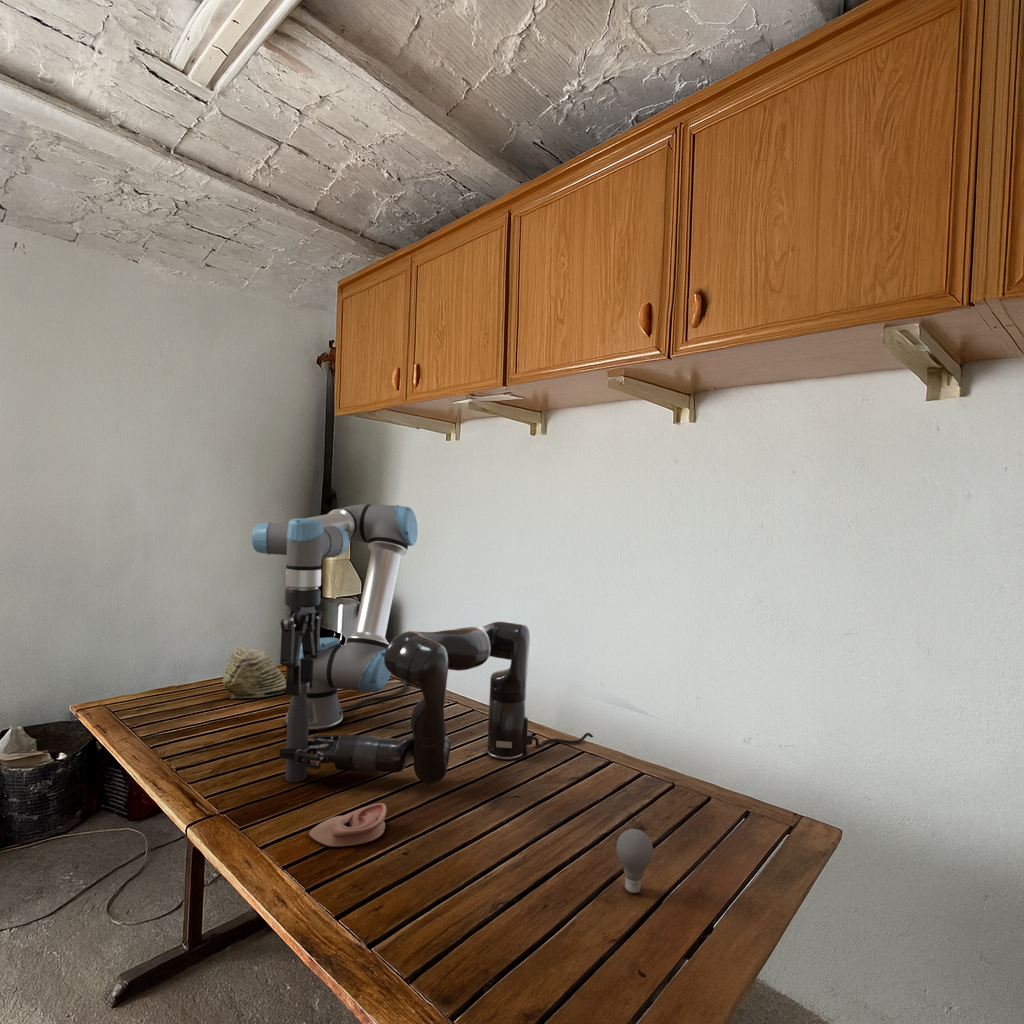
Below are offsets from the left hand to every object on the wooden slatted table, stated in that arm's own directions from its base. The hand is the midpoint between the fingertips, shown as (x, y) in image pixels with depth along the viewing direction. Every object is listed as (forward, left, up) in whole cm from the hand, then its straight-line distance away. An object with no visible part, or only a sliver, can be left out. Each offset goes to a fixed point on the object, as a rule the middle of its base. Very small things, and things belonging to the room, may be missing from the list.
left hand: (299, 690), depth 142 cm
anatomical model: (+6, +27, -20) cm, 34 cm away
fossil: (-24, -60, -20) cm, 67 cm away
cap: (0, 0, +2) cm, 2 cm away
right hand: (+2, -2, -13) cm, 13 cm away
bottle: (0, 0, -20) cm, 20 cm away
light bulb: (-14, +76, -20) cm, 80 cm away
